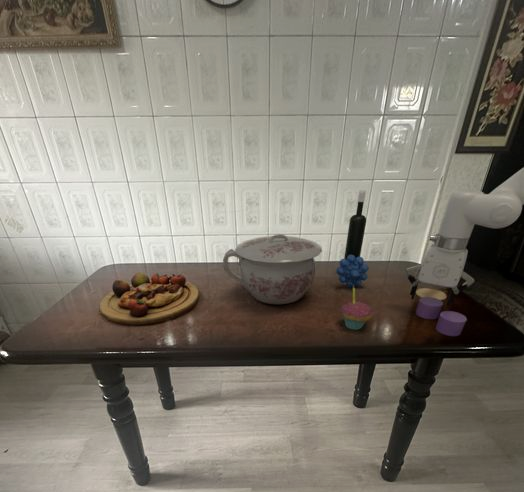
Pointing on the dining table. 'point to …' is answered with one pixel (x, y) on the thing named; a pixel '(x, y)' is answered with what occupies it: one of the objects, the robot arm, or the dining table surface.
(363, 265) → the grapes
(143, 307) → the wooden plate
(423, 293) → the coaster
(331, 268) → the dining table surface
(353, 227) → the wine bottle
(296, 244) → the chamber pot
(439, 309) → the purple cylinder
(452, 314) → the short purple cylinder
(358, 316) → the cupcake
